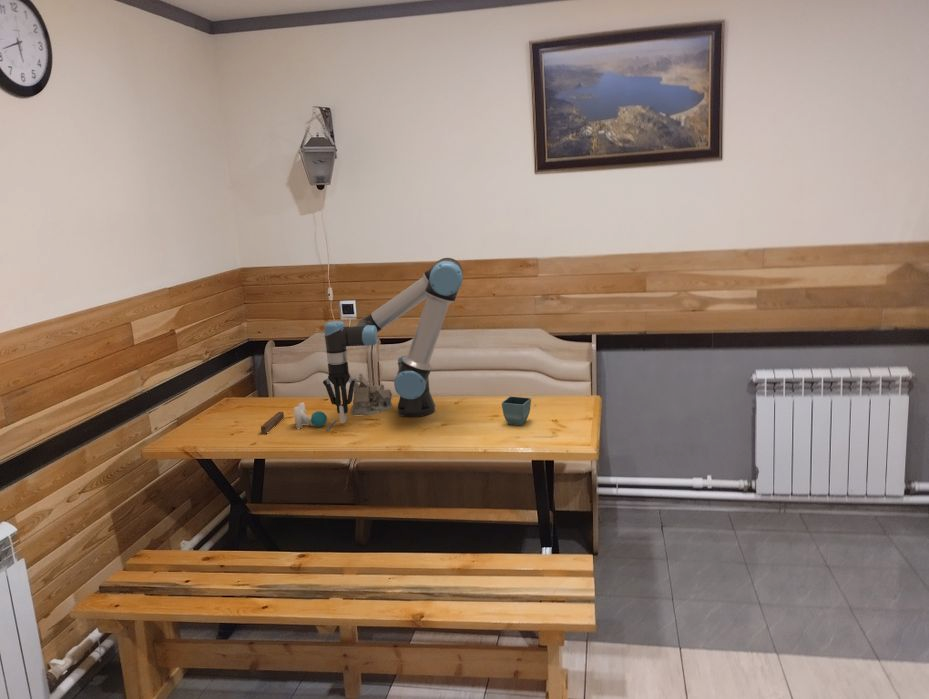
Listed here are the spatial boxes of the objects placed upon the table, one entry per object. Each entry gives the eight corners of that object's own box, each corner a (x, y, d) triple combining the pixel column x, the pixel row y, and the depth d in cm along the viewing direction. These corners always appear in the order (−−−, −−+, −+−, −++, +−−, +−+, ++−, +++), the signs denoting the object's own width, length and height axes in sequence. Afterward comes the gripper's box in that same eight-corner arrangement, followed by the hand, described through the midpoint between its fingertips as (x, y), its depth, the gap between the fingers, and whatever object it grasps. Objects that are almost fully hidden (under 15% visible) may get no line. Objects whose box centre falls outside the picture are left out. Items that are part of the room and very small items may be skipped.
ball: (310, 417, 305) (323, 426, 305) (306, 422, 299) (318, 432, 299) (319, 406, 303) (331, 415, 303) (314, 411, 297) (327, 420, 298)
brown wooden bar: (284, 418, 314) (283, 411, 313) (266, 434, 296) (265, 426, 296) (279, 418, 314) (278, 411, 313) (261, 434, 297) (260, 426, 296)
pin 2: (307, 422, 307) (305, 402, 305) (305, 425, 304) (303, 404, 302) (302, 423, 307) (299, 402, 305) (299, 425, 305) (297, 404, 303)
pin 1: (303, 427, 302) (300, 406, 300) (301, 429, 300) (298, 408, 298) (297, 427, 302) (295, 406, 300) (295, 429, 300) (292, 408, 298)
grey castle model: (346, 415, 313) (345, 379, 310) (361, 404, 328) (361, 369, 325) (382, 418, 309) (381, 382, 306) (396, 407, 324) (396, 372, 321)
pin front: (314, 421, 303) (298, 405, 303) (312, 423, 301) (296, 407, 300) (310, 425, 304) (294, 409, 303) (307, 427, 302) (292, 411, 301)
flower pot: (532, 420, 294) (531, 397, 291) (524, 428, 286) (523, 404, 284) (510, 418, 297) (509, 396, 295) (502, 425, 290) (501, 402, 287)
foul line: (338, 420, 307) (338, 420, 307) (328, 431, 295) (328, 430, 295) (335, 420, 307) (335, 420, 307) (325, 431, 296) (325, 430, 296)
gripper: (357, 359, 297) (362, 417, 303) (324, 359, 299) (330, 418, 305) (351, 364, 290) (357, 424, 295) (317, 365, 292) (324, 424, 298)
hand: (343, 421), depth 300 cm, fingers closed
